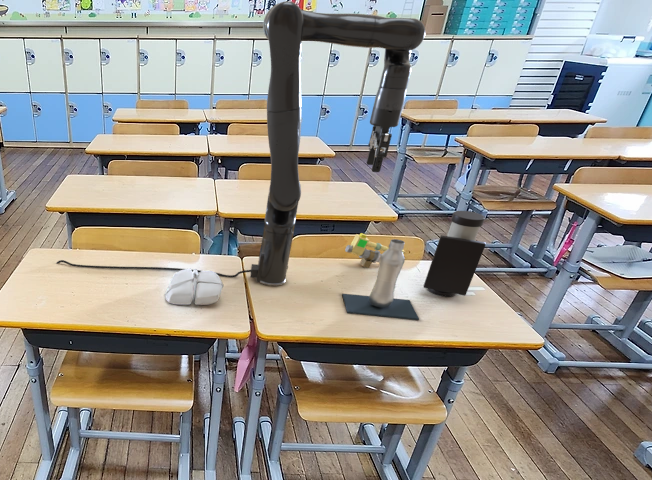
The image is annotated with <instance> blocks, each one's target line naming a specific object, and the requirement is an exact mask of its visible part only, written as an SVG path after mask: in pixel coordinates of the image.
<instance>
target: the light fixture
mask: <svg viewBox="0 0 652 480" xmlns="http://www.w3.org/2000/svg"><path fill="white" fill-rule="evenodd" d="M485 220H486V216H485V215H483V214H481V213H478V212H474V211H470V210H456V211H453V213H452V215H451V219H450V221H451V223H450V226H449V230H448V232H447V235H442V234H441V235H440V236H439V240H438V242H437V245H436V248H435V251H434V254H433V257H432V260H431V263H430V265H429V268H428V272H427V274H426V277H425V280H424V282H423V283H424V284H423V288H424V289H427V290H428V291H429V292H430V293H431V294H434V295H435V296H440V297H445V298H447V297H448V298H451V297H454V296H456V295H458V296H459V295H460V296H463V297H465V296H466V295H467V294H468V290H469V288H470V286H471V283H472V281H473V278H474V275H475V273H476V270H477V268H478V266H479V263H480V260H481V258H482V255H483V253H484V251H485V248H486V245H487V244H486V242H485V241H480V240H476V239H477V236H478V234H479V231H480V228H481V227H482V226H483V225H484V223H485Z"/></svg>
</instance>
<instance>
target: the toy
mask: <svg viewBox="0 0 652 480" xmlns="http://www.w3.org/2000/svg"><path fill="white" fill-rule="evenodd" d="M368 247H369V248H371V249H367V248H368ZM372 249H374V250H375V251H374V250H372ZM387 249H389V246H386V245H384V244H383V245H382V244H381V243H380V242H373V241H370V239H369V238H368V237H367V234H365V233H362V232H361V233H359V234H357V233H356V234H355V235H354V238H353V239H352V241H351V243H350V244H348V245H346V246H345V250H344V251H345V252H346V253H349V254H352V255H355V256H358V258H360V259H361V260H360V261H359V264H360V265H361V266H362V267H365V268H367V269H370V267H371V266H372V264H376V263H379V261H380V257H381V255H382V254H383V253H381V252H385V251H386V250H387ZM402 252H403V255H404V254H405V253H406V251H405V250H404V249H403V250H402Z"/></svg>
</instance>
